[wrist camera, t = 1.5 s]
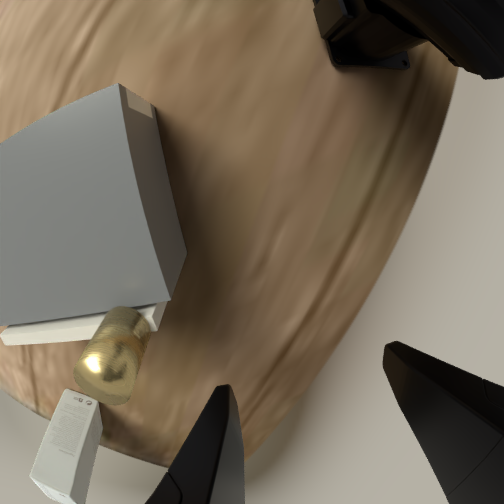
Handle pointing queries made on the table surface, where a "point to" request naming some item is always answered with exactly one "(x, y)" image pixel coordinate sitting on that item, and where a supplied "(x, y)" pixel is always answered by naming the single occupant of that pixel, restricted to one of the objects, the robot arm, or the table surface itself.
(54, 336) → the side door
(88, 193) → the case
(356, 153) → the table surface
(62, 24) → the table surface
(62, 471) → the skincare box
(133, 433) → the table surface
